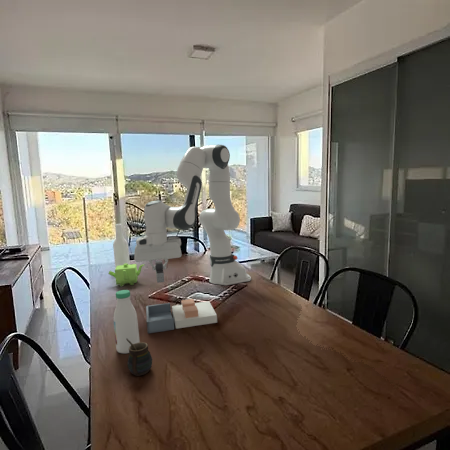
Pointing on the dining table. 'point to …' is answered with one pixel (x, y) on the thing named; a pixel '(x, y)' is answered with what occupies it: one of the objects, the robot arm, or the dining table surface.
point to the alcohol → (120, 247)
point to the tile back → (187, 303)
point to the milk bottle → (125, 322)
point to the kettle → (126, 274)
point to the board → (204, 317)
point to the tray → (159, 318)
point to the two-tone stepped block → (159, 271)
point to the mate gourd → (139, 358)
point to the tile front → (190, 311)
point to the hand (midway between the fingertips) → (159, 269)
